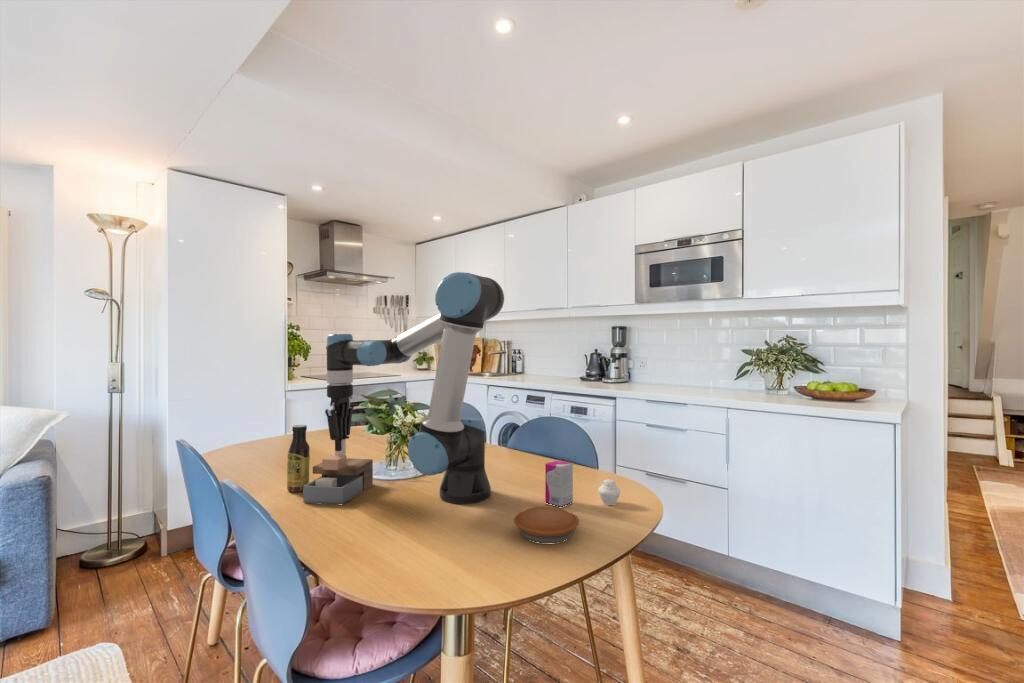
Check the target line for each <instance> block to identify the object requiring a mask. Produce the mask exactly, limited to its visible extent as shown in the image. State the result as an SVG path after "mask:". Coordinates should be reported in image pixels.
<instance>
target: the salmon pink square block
mask: <svg viewBox="0 0 1024 683" xmlns="http://www.w3.org/2000/svg"><path fill="white" fill-rule="evenodd" d="M321 463H322V469H324V470H339V469H341V468H343V467H345V466H347V455H346V456H341V455H335V454H330V455H329V456H326V457H324V458H322V459H321Z"/></svg>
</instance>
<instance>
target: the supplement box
mask: <svg viewBox="0 0 1024 683" xmlns="http://www.w3.org/2000/svg"><path fill="white" fill-rule="evenodd" d="M573 468H574V463H572V462H568V461H563V460H558V459H557V460H554V461H550V462H547V463H545V468H544V469H545V473H544V474H545V476H544V477H545V482H544V483H545V488H544V490H545V491H544V492H545V493H544V495H545V496H544V497H545V498H544V499H545V501H544V502H546V503H548V504H552V505H555V506H558V507H563V506H565V505H568V504H570V503H572V502H573V501H574V497H573V496H574V491H573V490H574V489H573V488H574V486H573V485H574V478H573V476H574V475H573V474H574V473H573V472H574V469H573ZM573 503H574V502H573ZM573 503H572V504H573ZM570 505H571V504H570ZM568 506H569V505H568ZM558 507H557V508H558Z"/></svg>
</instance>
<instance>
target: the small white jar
mask: <svg viewBox="0 0 1024 683" xmlns="http://www.w3.org/2000/svg"><path fill="white" fill-rule="evenodd" d="M597 491H598V494H599V495H598V496H599V498H600V499H601V501H602V503H603V504H604V505H605V504H607V505H606V506H608V505H612V506H615V505H616V503H617V502H618V500H619V498H620V495H621V489H620V488H619V487H618V485H617V484H616V481H615V480H613V479H610V478H608V479H604V480H603V481H602V484H601V485H600V486H599V487H598V490H597ZM614 504H615V505H614Z"/></svg>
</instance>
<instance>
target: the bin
mask: <svg viewBox="0 0 1024 683" xmlns="http://www.w3.org/2000/svg"><path fill="white" fill-rule="evenodd" d="M319 478H337V487H325V486H315V480H317V479H319ZM361 491H362V492H363V491H364V490H363V476H359V475H333V474H325V475H323V476H322V475H321V476H320V477H318V478H315V479H314V480H311V481H309V483H308V484H306V485H304V486H303V491H302V492H303V493H302V496H303V499H302V500H303V501H302V502H307V503H306V504H313V503H321V504H320V505H331V504H342V505H341V506H344V505H345V504H346V502H347V501H348V502H349V501H351V500H352V499H353V497H354V496H355V497H357V496H358V495H359V494H361V493H362V492H361ZM360 492H361V493H360ZM358 493H359V494H358ZM357 494H358V495H357ZM356 495H357V496H356ZM355 497H354V498H355ZM351 498H352V499H351ZM350 499H351V500H350ZM348 502H347V503H348ZM344 503H345V504H344ZM343 504H344V505H343Z"/></svg>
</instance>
